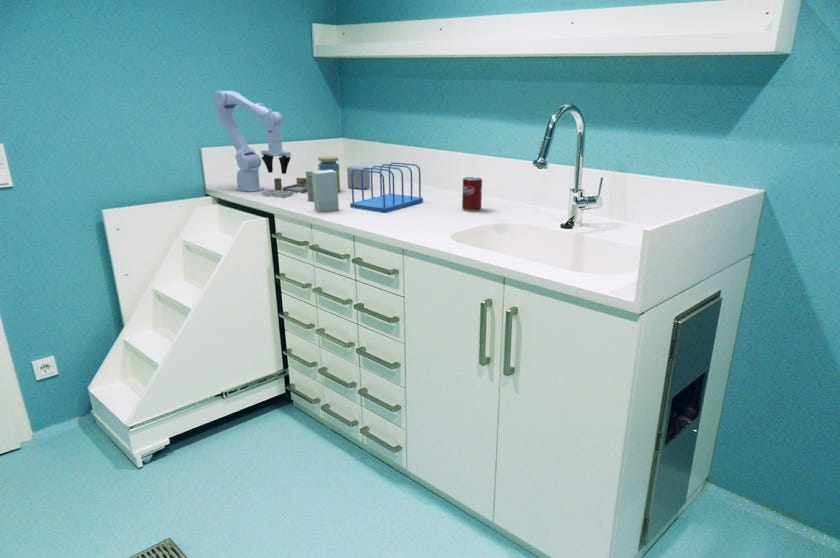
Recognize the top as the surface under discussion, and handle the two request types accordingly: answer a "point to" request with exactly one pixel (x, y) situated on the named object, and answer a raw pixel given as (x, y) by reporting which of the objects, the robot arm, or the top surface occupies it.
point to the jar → (330, 166)
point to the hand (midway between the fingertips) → (277, 173)
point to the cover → (301, 181)
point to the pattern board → (295, 188)
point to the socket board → (277, 193)
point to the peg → (278, 184)
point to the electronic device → (358, 177)
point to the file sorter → (388, 200)
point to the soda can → (472, 194)
